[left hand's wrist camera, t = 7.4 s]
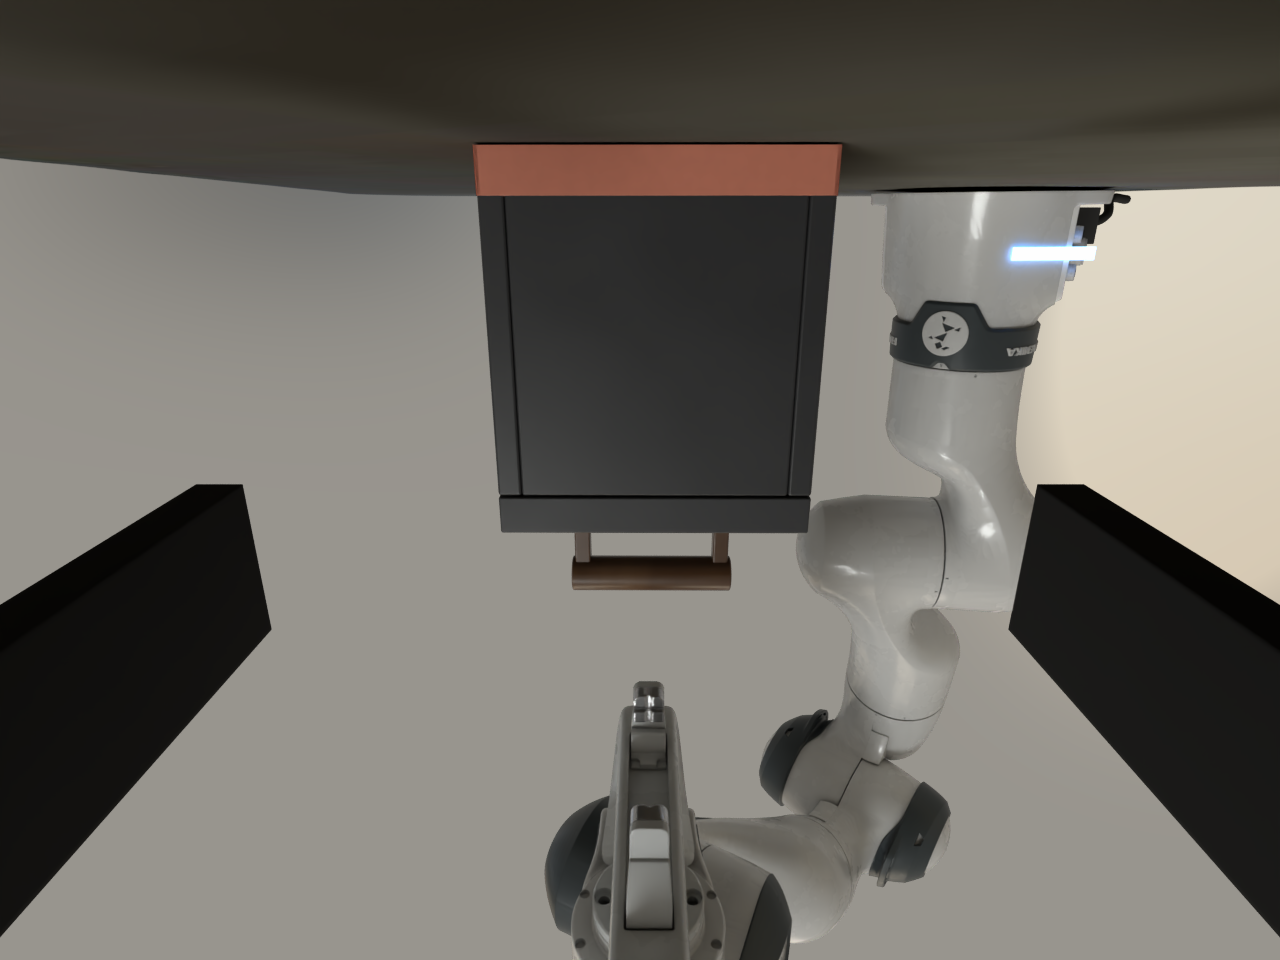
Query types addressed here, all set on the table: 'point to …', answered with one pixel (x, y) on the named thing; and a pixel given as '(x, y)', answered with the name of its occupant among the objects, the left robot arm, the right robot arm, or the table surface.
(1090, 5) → the table surface
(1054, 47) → the table surface
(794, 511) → the lid
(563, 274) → the chest
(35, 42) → the table surface
